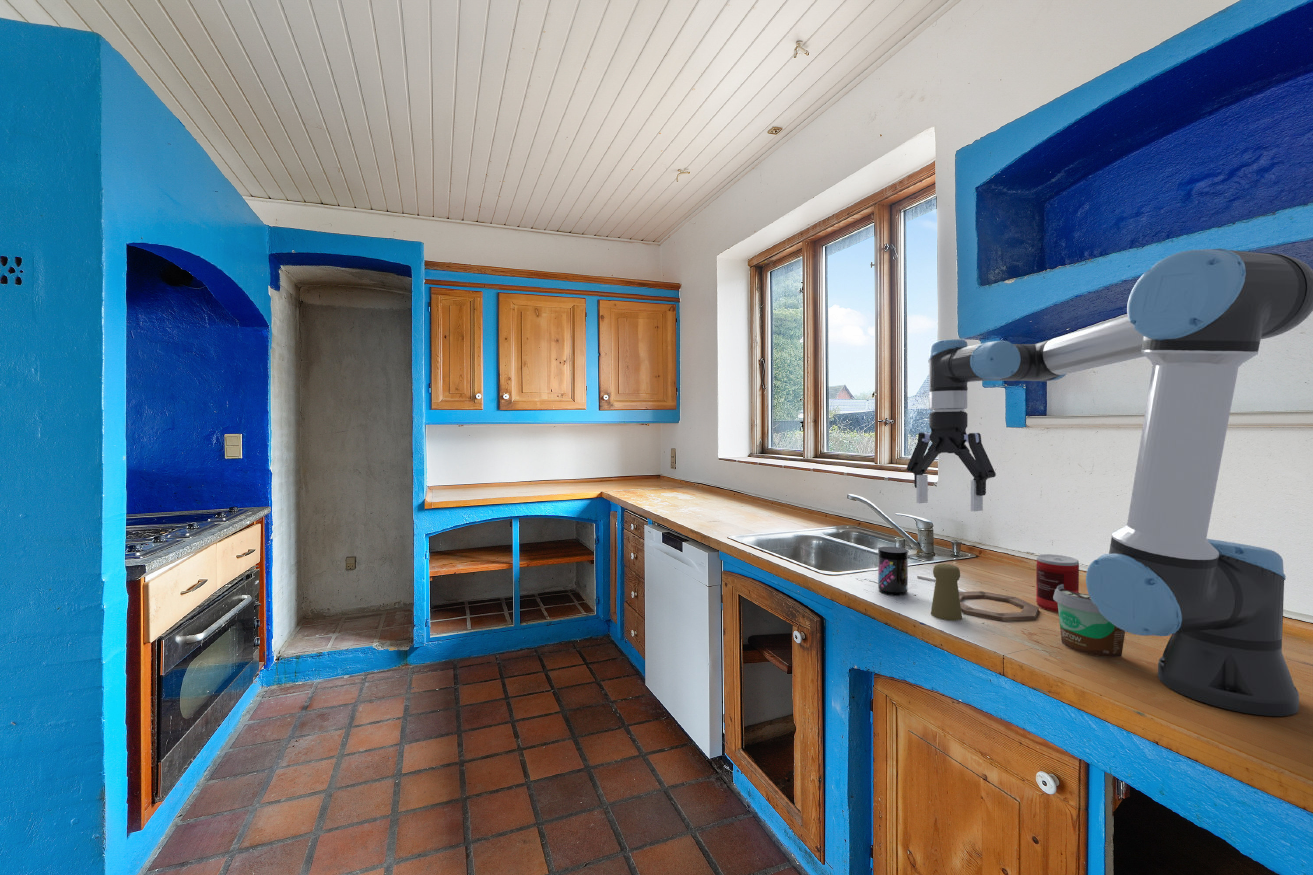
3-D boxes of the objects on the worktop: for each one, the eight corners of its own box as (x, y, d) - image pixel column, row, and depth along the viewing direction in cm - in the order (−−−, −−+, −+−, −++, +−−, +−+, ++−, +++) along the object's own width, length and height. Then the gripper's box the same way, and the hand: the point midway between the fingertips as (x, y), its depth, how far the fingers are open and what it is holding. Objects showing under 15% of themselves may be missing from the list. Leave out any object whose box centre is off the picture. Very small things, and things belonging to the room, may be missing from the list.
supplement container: (877, 586, 141) (877, 545, 140) (906, 589, 138) (907, 547, 138) (878, 594, 134) (878, 551, 134) (908, 597, 132) (909, 553, 132)
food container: (1036, 638, 107) (1037, 586, 106) (1059, 634, 109) (1060, 583, 108) (1107, 665, 95) (1108, 607, 95) (1131, 659, 97) (1132, 602, 97)
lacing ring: (1056, 618, 117) (1057, 614, 117) (980, 622, 116) (980, 618, 116) (1000, 593, 134) (1000, 590, 134) (932, 596, 132) (932, 592, 132)
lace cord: (967, 594, 134) (967, 591, 134) (950, 594, 133) (950, 592, 133) (931, 576, 149) (931, 574, 149) (916, 577, 148) (916, 575, 148)
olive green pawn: (968, 620, 117) (968, 568, 116) (938, 620, 117) (939, 568, 116) (953, 610, 123) (953, 560, 122) (925, 610, 123) (925, 561, 122)
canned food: (1073, 604, 126) (1073, 555, 126) (1082, 615, 119) (1083, 564, 118) (1032, 599, 129) (1033, 552, 129) (1039, 610, 122) (1040, 560, 122)
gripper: (1015, 409, 114) (1015, 513, 114) (913, 412, 136) (913, 498, 137) (990, 409, 111) (990, 516, 111) (890, 412, 133) (890, 500, 134)
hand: (948, 506), depth 124 cm, fingers open, 13 cm apart
